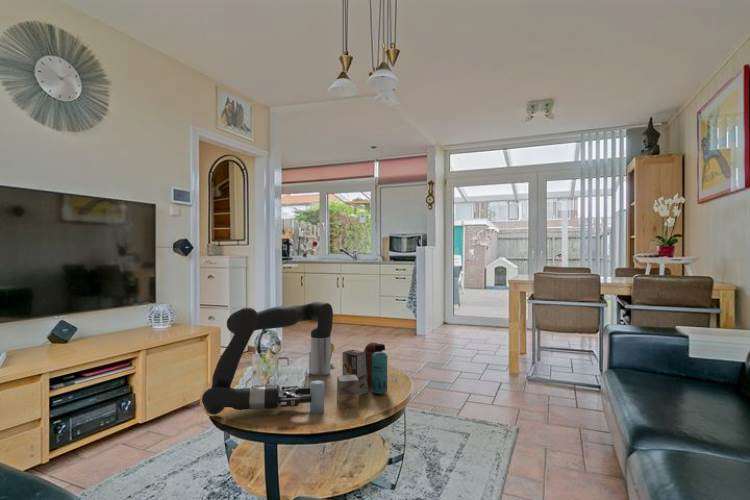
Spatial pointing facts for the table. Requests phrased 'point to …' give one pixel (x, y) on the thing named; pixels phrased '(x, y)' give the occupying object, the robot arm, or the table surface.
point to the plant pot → (331, 350)
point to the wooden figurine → (370, 359)
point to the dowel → (317, 397)
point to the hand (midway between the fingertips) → (310, 394)
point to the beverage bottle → (379, 370)
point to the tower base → (347, 400)
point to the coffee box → (356, 367)
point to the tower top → (347, 384)
